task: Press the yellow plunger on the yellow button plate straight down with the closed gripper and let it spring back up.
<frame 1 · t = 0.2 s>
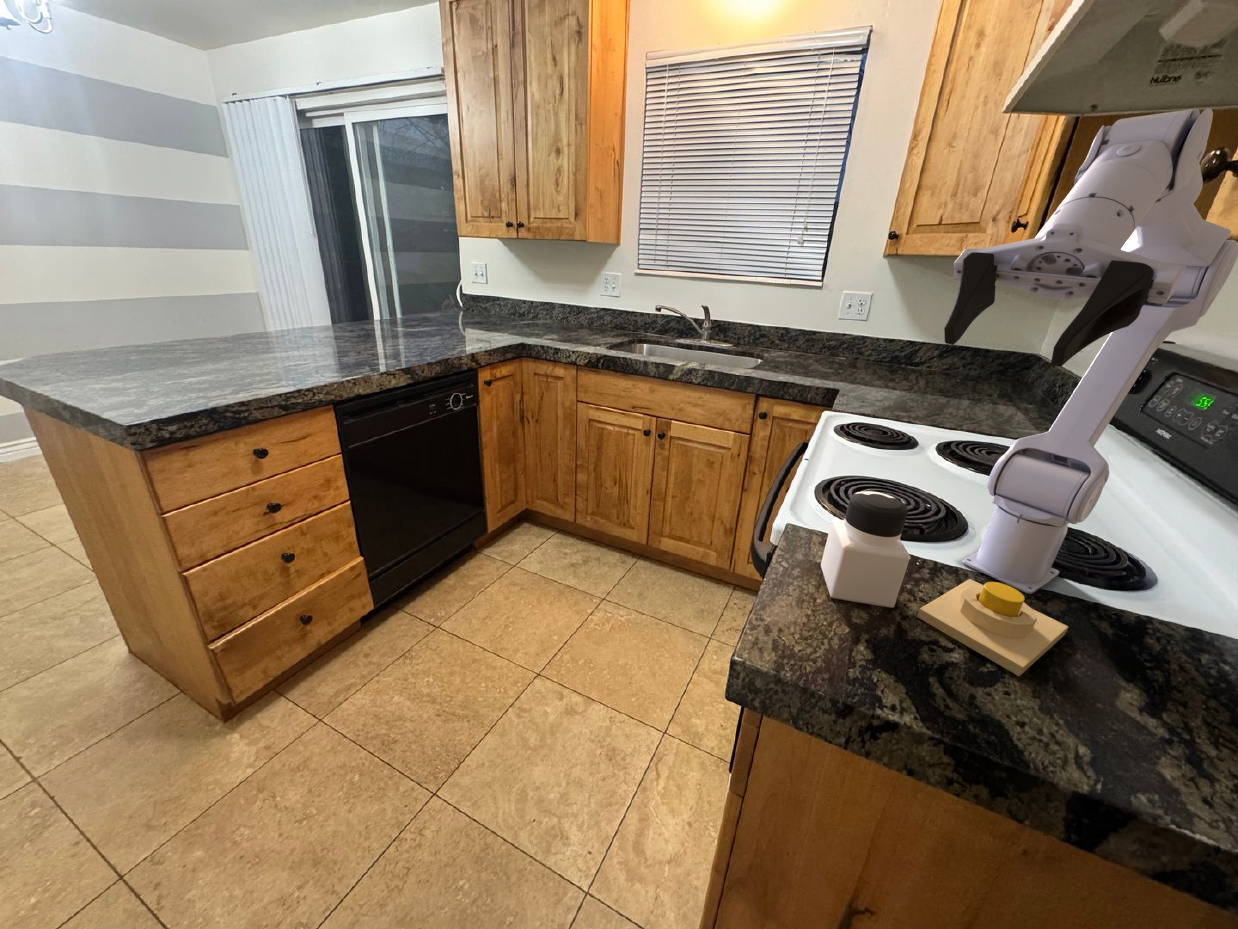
hand: (999, 346, 40), 31 cm above the worktop, tool tilted 45°, fingers open, 7 cm apart
medicine bottle: (854, 587, 61), on the worktop
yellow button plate: (989, 626, 55), on the worktop
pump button: (1001, 599, 54), point 4 cm above the worktop, slide at 0.1 cm
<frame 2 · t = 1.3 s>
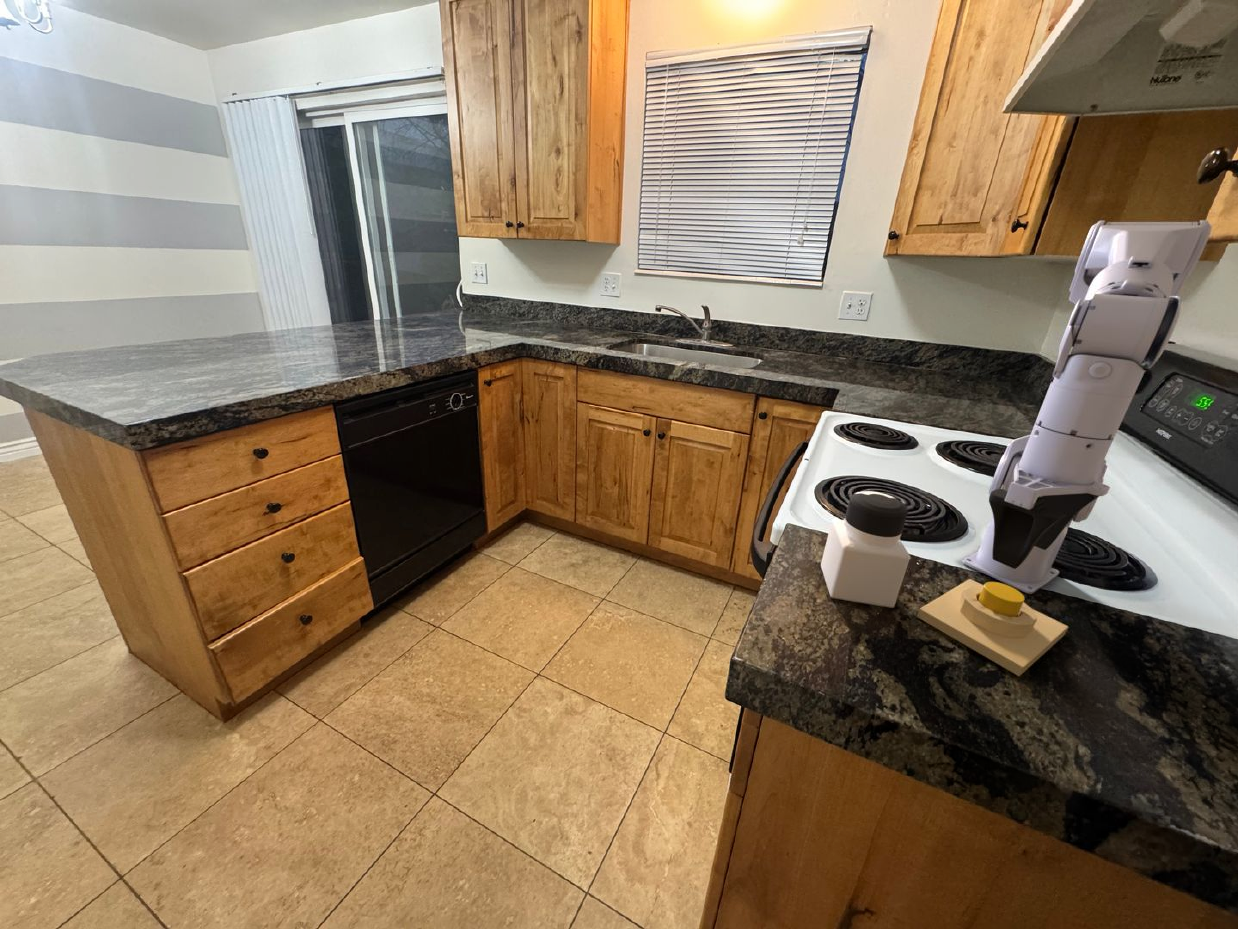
hand: (1020, 553, 52), 9 cm above the worktop, tool pointing down, fingers open, 7 cm apart
nothing on the worktop moved.
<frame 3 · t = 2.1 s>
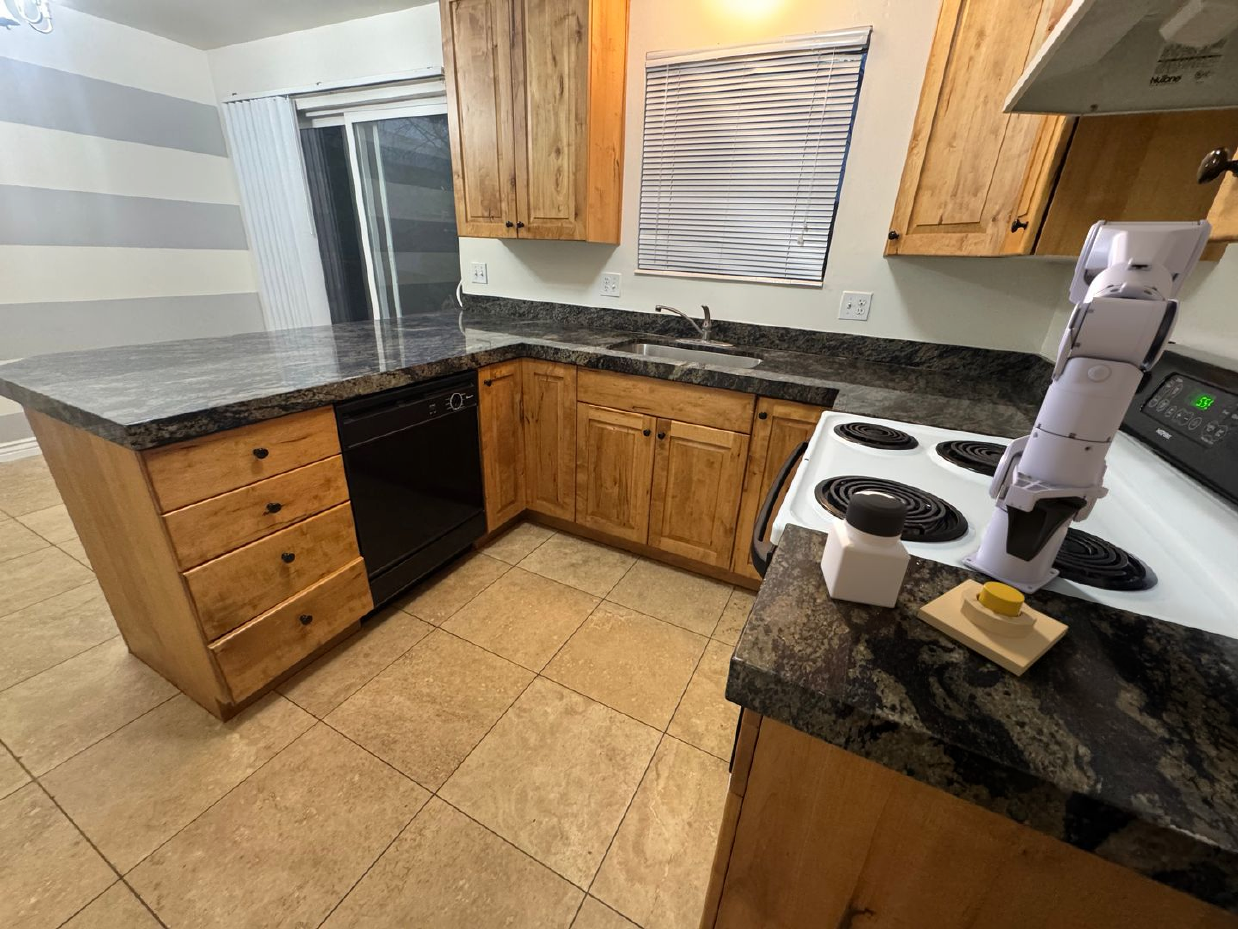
hand: (1019, 555, 52), 9 cm above the worktop, tool pointing down, fingers closed
nothing on the worktop moved.
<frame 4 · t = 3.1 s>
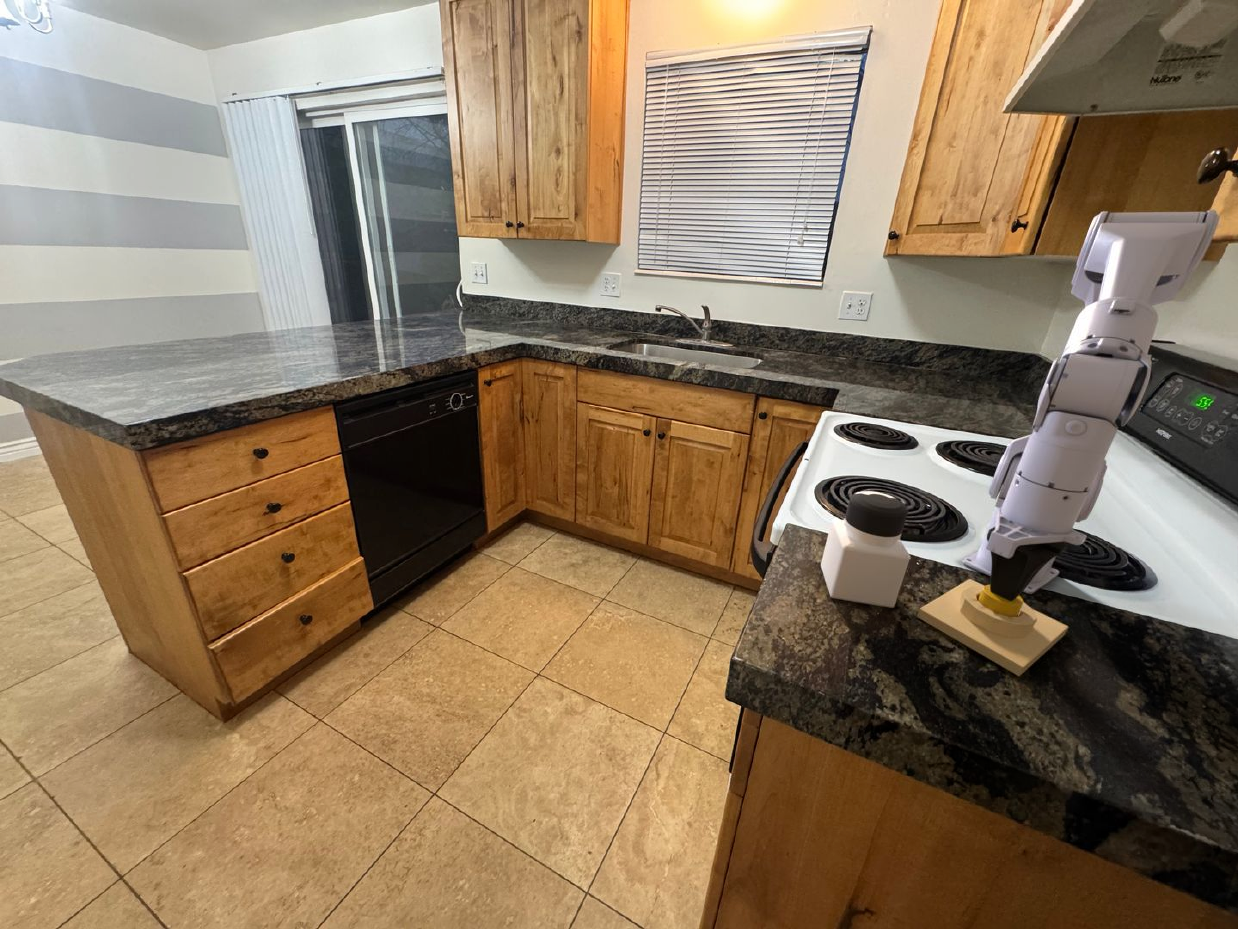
hand: (1002, 594, 54), 4 cm above the worktop, tool pointing down, fingers closed, pressing on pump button
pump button: (999, 602, 54), point 3 cm above the worktop, slide at -0.3 cm, touching gripper
everything else where it was.
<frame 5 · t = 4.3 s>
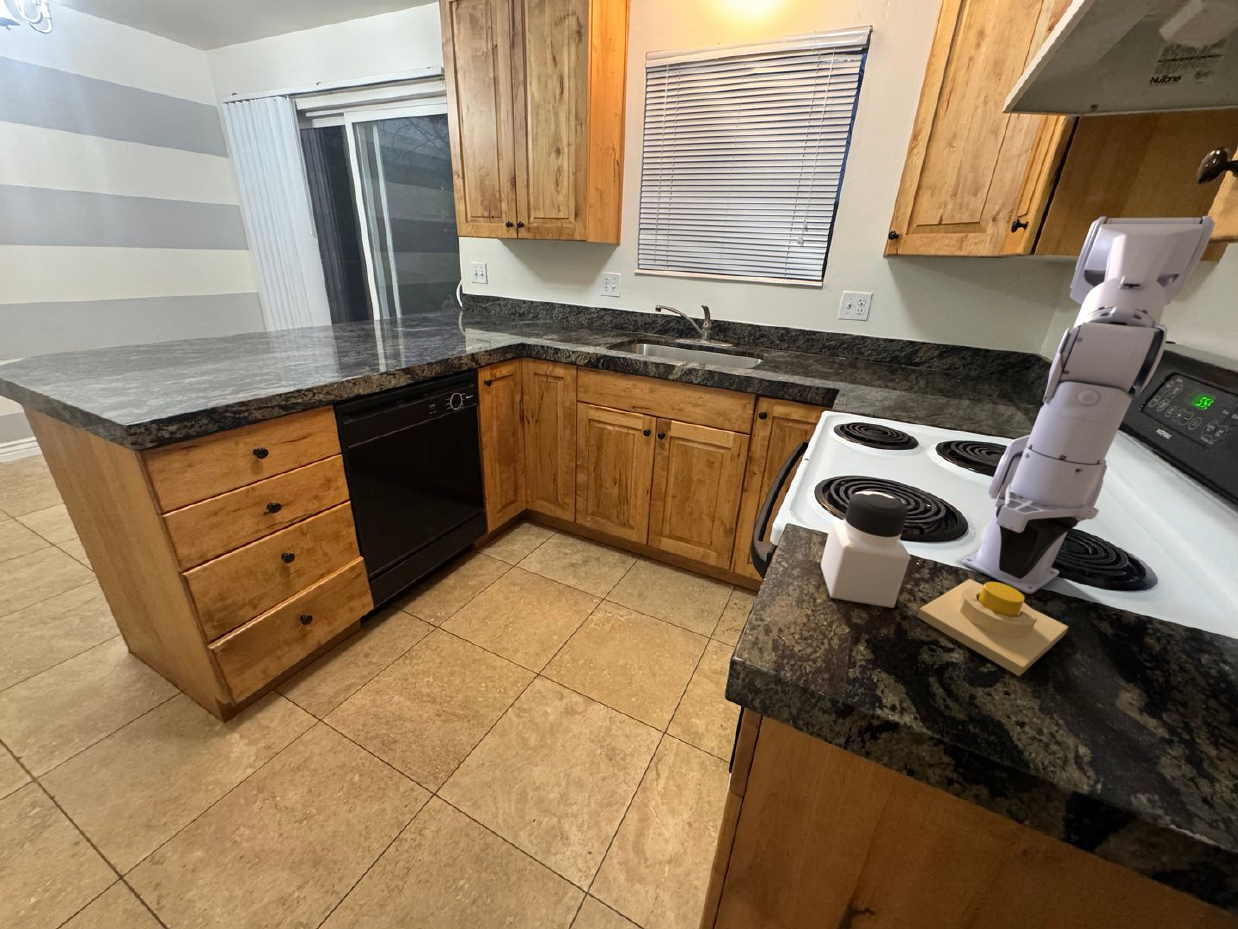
hand: (1012, 572, 53), 7 cm above the worktop, tool pointing down, fingers closed
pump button: (1001, 599, 54), point 4 cm above the worktop, slide at 0.1 cm
everything else where it was.
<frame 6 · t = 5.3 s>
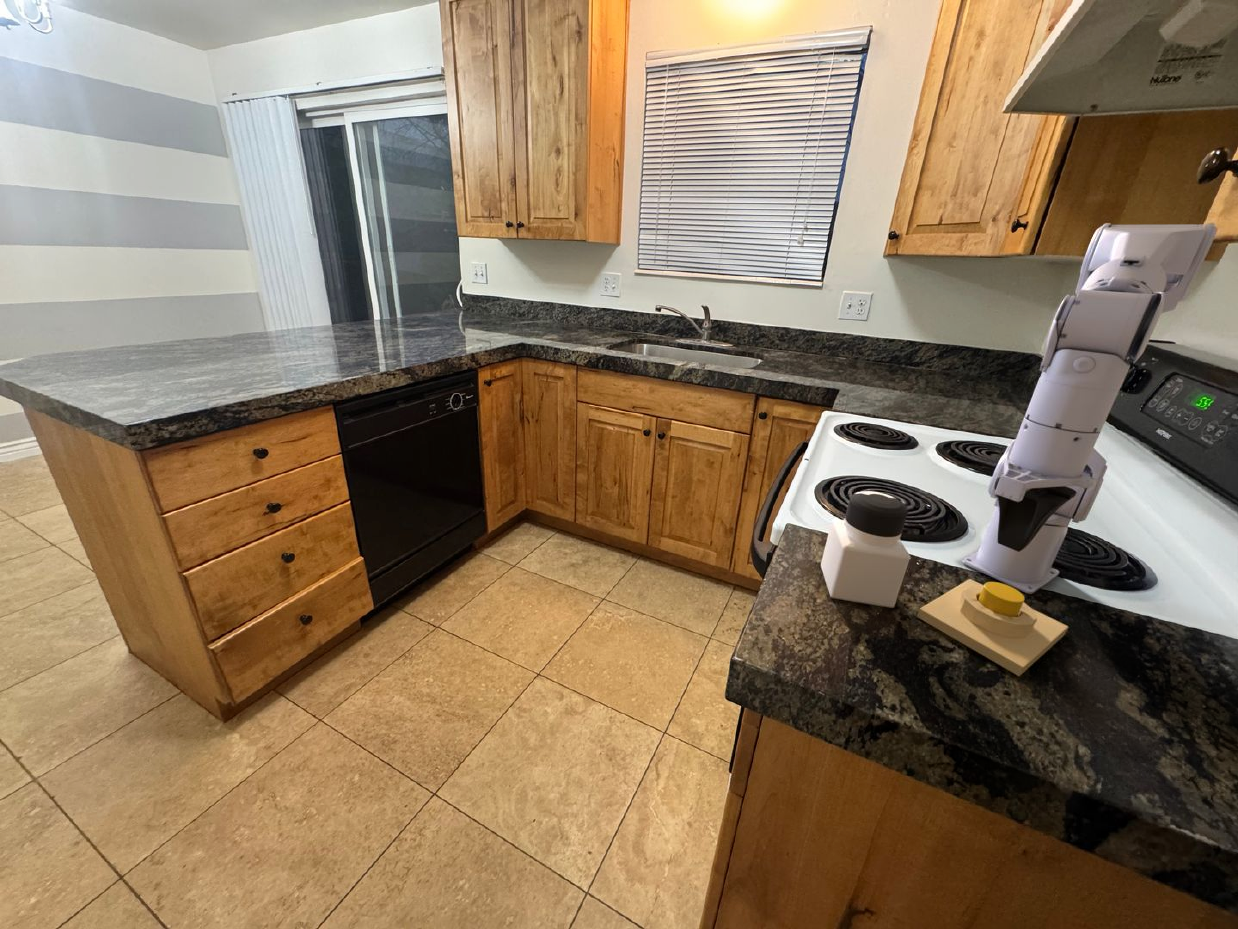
hand: (1010, 546, 53), 10 cm above the worktop, tool pointing down, fingers closed
nothing on the worktop moved.
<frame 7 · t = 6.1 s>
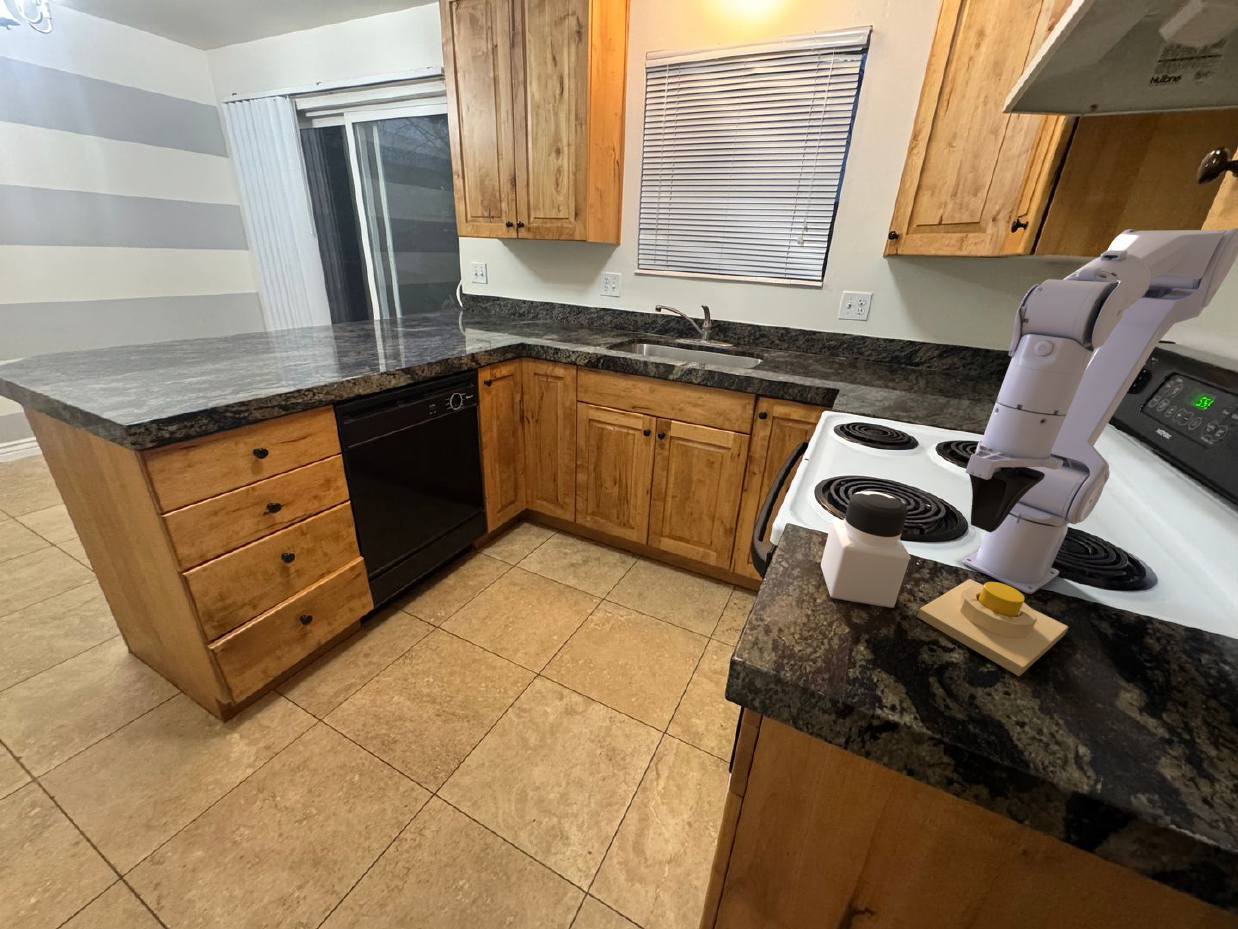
hand: (983, 527, 55), 10 cm above the worktop, tool pointing down, fingers closed
nothing on the worktop moved.
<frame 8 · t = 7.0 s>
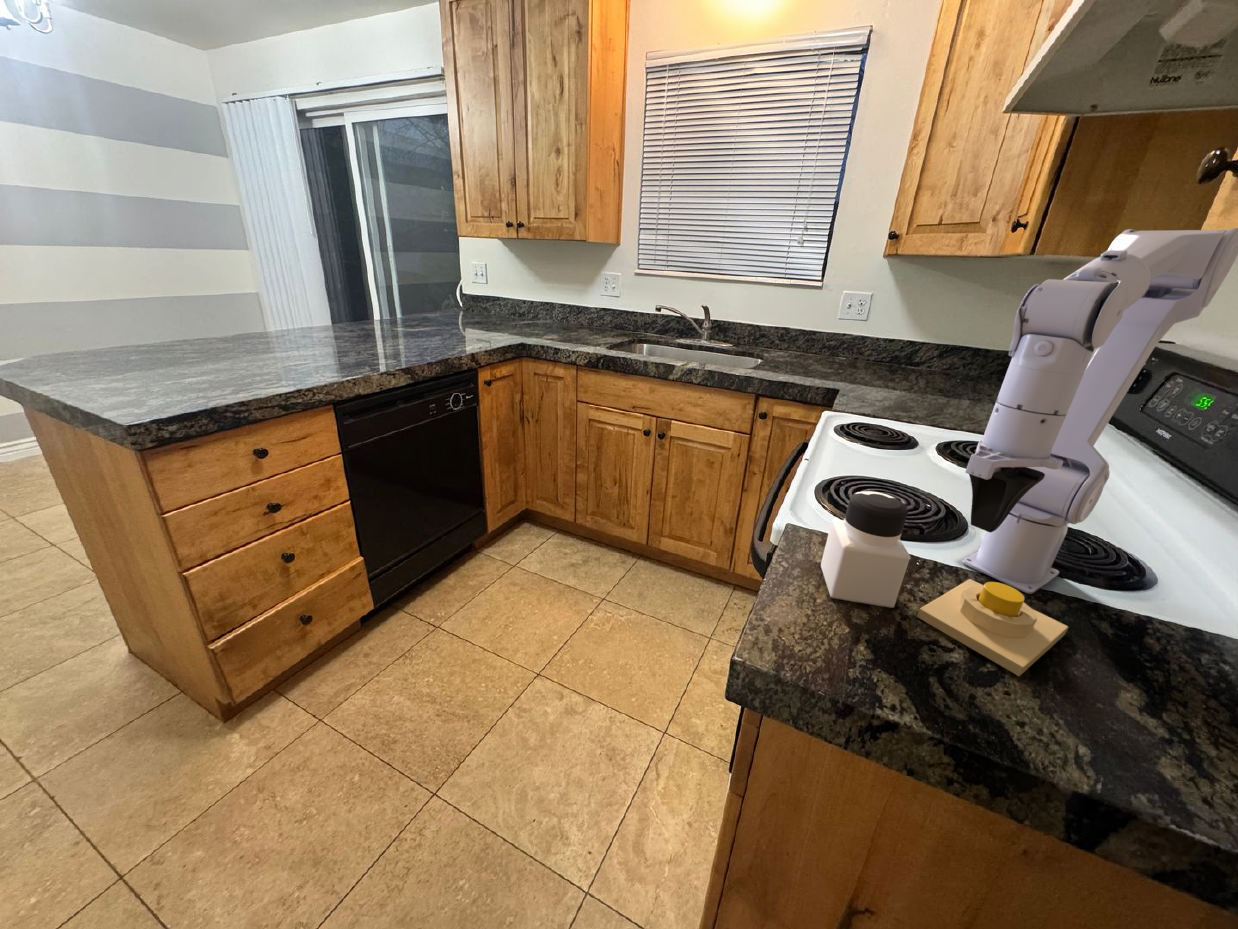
hand: (983, 527, 55), 10 cm above the worktop, tool pointing down, fingers closed
nothing on the worktop moved.
at the end: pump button pushed in 1.2 cm at the most during the clip, back to where it started at the end; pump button slide at 0.1 cm; medicine bottle moved 0.2 cm from its start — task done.
